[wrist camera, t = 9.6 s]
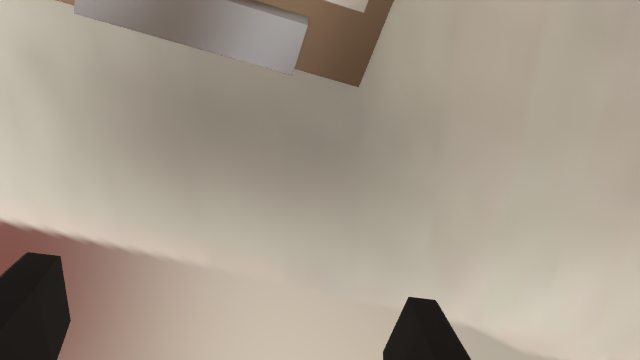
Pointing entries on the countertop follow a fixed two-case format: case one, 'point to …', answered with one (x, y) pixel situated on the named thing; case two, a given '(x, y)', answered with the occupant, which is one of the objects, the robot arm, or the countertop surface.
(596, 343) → the countertop surface
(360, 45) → the picture frame
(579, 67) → the countertop surface
